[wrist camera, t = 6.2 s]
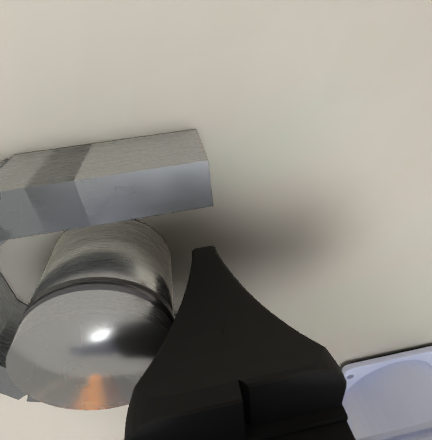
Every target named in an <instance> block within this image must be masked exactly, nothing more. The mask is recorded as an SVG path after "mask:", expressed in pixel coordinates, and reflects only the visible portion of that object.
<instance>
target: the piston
mask: <svg viewBox="0 0 432 440" xmlns="http://www.w3.org/2000/svg"><path fill="white" fill-rule="evenodd" d="M174 320H175V316H174V303H173V286H172V269H171V256H170V252H169V248H168V246H167V244H166V243H165V241H164V240H163V238H162V237H161V236H160V235H159V234H158V233H157V232H156V231H155V230H154V229H152V228H151V227H149V226H148V225H146V224H144V223H142V222H140V221H137V220H134V219H130V220H124V221H118V222H112V223H106V224H100V225H94V226H87V227H81V228H75V229H69V230H66V231H65V232H64V233H63V234H62V235H61V237H60V238H59V240H58V241H57V243H56V245H55V247H54V250H53V252H52V254H51V256H50V259H49V261H48V263H47V265H46V268H45V270H44V272H43V274H42V277H41V279H40V281H39V283H38V286H37V288H36V290H35V292H34V295H33V297H32V299H31V301H30V304H29V305H28V306H27V308H26V309H25V311H24V313H23V315H22V317H21V319H20V322H19V324H18V326H17V329H16V333H15V337H14V340H13V342H12V344H11V346H10V349H9V351H8V354H7V357H6V370H7V373H8V375H9V378H10V379H11V381H12V382H13V383H14V384H15V386H16V387H17V388H18V389H20V390H21V391H22V392H23V393H25V394H26V395H28V396H30V397H31V398H33V399H36V400H38V401H40V402H43V403H46V404H49V405H52V406H56V407H61V408H67V409H76V410H99V409H108V408H114V407H119V406H124V405H127V404H130V400H131V396H132V393H133V390H134V387H135V385H136V384H137V382H138V381H139V379H140V378H141V377H142V375H143V374H144V372H145V371H146V370H147V368H148V367H149V365H150V364H151V362H152V361H153V359H154V357H155V356H156V354H157V352H158V351H159V349H160V347H161V346H162V344H163V342H164V340H165V338H166V337H167V335H168V333H169V331H170V329H171V326H172V324H173V322H174Z"/></svg>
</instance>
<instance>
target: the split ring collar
mask: <svg viewBox="0 0 432 440" xmlns="http://www.w3.org/2000/svg"><path fill="white" fill-rule="evenodd" d="M210 206H213V200H212V191H211V182H210V172H209V163H208V159H207V156H206V153H205V151H204V148H203V146H202V143H201V140H200V138H199V135H198V132H197V130H196V129H194V130H186V131H179V132H172V133H165V134H158V135H151V136H144V137H137V138H129V139H122V140H115V141H108V142H101V143H94V144H87V145H80V146H72V147H65V148H58V149H51V150H44V151H37V152H30V153H23V154H15V155H14V156H13V157H12V158H11V159H10V160H8V159H7V158H6V159H5V160H4V161H3V162H2V163H0V246H1V245H2V244H3V243H4V242H5V241H7V240H8V239H14V238H20V237H26V236H32V235H38V234H45V233H51V232H57V231H63V230H69V229H75V228H81V227H87V226H94V225H100V224H106V223H112V222H118V221H124V220H130V219H136V218H143V217H149V216H155V215H161V214H167V213H173V212H179V211H185V210H192V209H198V208H204V207H210ZM26 308H27V305H25V304H23V303H21V302H20V301H18V300H17V299H16V297H15V296H14V294H13V292H12V291H11V289H10V288H9V286H8V285H7V283H6V282H5V280H4V278H3V277H2V275H1V274H0V393H2V394H4V395H7V396H10V397H12V398H15V399H18V400H19V399H20V398H22V397H23V396H25V395H26V394H25V393H23V392H22V391H21V390H20V389H18V388H17V387H16V386H15V384H14V383H13V382H12V381H11V379H10V378H9V375H8V373H7V370H6V357H7V354H8V351H9V349H10V346H11V344H12V342H13V340H14V337H15V333H16V329H17V326H18V324H19V322H20V319H21V317H22V315H23V313H24V311H25V309H26ZM174 316H175V318H176V315H174ZM27 401H30V402H40V401H38V400H36V399H33V398H31V397H30V396H28V398H27Z"/></svg>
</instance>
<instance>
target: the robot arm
mask: <svg viewBox="0 0 432 440" xmlns="http://www.w3.org/2000/svg"><path fill="white" fill-rule="evenodd" d="M124 440H432V346H429V347H425V348H420V349H415V350H411V351H406V352H402V353H397V354H392V355H388V356H383V357H379V358H374V359H369V360H365V361H360V362H356V363H351V364H347V365H345V366H344V367H343V368H342V371H341V369H340V367H339V366H338V364H337V363H336V361H335V360H334V359H333V357H332V356H331V354H330V353H329V352H328V350H327V349H326V348H325V347H324V346H322V345H320V344H318V343H316V342H315V341H313V340H311V339H309V338H307V337H306V336H304V335H302V334H301V333H299V332H298V331H296V330H295V329H293V328H292V327H290V326H289V325H287V324H286V323H285V322H283V321H282V320H280V319H279V318H278V317H276V316H275V315H274V314H272V313H271V312H270V311H269V310H267V309H266V308H265V307H264V306H263V305H261V304H260V303H259V302H258V301H257V300H256V299H255V298H254V297H253V296H252V295H251V294H250V293H249V292H248V291H247V290H246V289H245V288H244V287H243V286H242V285H241V284H240V283H239V282H238V280H237V279H236V278H235V277H234V276H233V274H232V273H231V272H230V271H229V269H228V268H227V267H226V265H225V264H224V263H223V261H222V260H221V258H220V257H219V255H218V253H217V252H216V250H215V247H213V246H207V247H201V248H195V249H194V250H193V251H192V265H191V271H190V275H189V279H188V284H187V287H186V290H185V294H184V297H183V300H182V303H181V305H180V308H179V311H178V313H177V315H176V318H175V320H174V322H173V324H172V326H171V329H170V331H169V333H168V335H167V337H166V338H165V340H164V342H163V344H162V346H161V347H160V349H159V351H158V352H157V354H156V356H155V357H154V359H153V361H152V362H151V364H150V365H149V367H148V368H147V370H146V371H145V372H144V374H143V375H142V377H141V378H140V379H139V381H138V382H137V384H136V385H135V387H134V390H133V393H132V396H131V400H130V404H129V407H128V412H127V418H126V425H125V438H124Z"/></svg>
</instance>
